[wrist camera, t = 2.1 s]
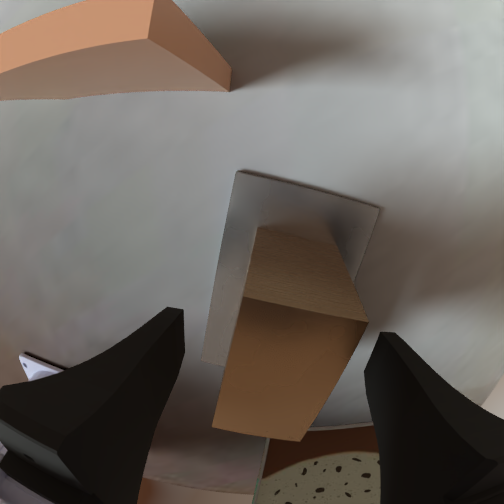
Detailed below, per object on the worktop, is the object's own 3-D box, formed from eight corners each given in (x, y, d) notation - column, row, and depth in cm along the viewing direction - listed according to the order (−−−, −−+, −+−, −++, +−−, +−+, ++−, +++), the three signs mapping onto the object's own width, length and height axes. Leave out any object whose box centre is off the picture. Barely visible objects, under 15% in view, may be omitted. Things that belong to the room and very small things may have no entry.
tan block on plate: (307, 375, 16) (313, 465, 11) (203, 353, 16) (175, 442, 11) (375, 205, 12) (438, 266, 7) (237, 170, 12) (203, 207, 7)
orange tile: (229, 92, 11) (148, 38, 4) (65, 99, 11) (-75, 110, 4) (232, 67, 10) (157, -19, 3) (67, 78, 11) (-71, 76, 3)
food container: (252, 465, 21) (239, 570, 12) (246, 427, 18) (228, 560, 9) (397, 454, 20) (415, 552, 10) (419, 413, 17) (452, 531, 8)
